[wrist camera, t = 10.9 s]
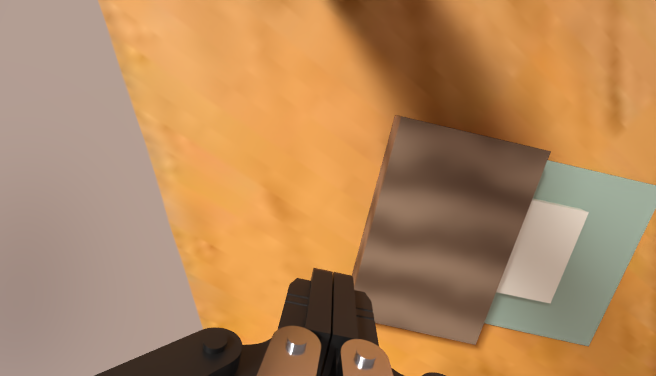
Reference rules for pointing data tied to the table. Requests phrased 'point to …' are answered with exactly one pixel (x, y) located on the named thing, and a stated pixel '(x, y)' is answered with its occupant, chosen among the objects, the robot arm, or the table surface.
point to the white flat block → (542, 250)
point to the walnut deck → (443, 227)
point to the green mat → (583, 253)
